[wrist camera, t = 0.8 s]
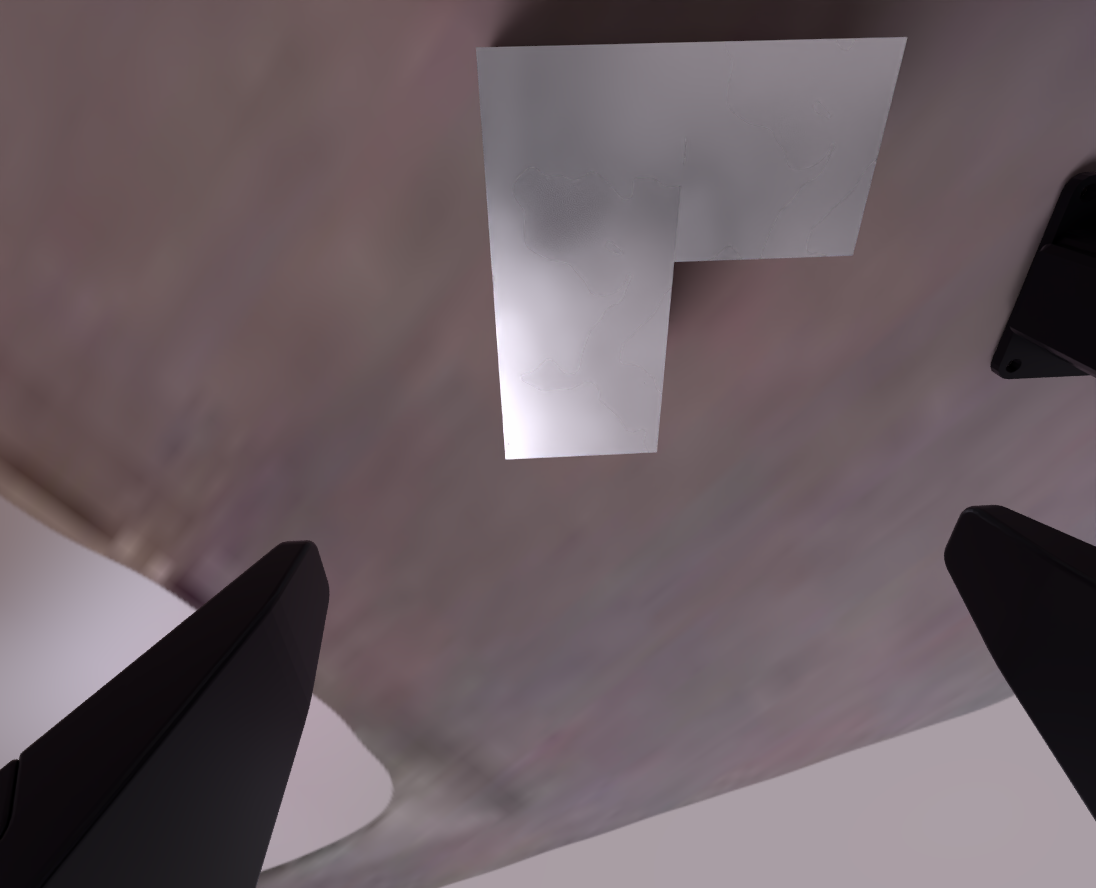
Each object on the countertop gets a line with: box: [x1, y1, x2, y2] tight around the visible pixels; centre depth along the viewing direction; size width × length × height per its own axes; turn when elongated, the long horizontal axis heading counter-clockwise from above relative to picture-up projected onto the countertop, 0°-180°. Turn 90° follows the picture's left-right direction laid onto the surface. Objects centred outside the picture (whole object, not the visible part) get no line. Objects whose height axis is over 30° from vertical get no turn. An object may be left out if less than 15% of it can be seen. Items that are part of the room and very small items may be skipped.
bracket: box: [476, 37, 907, 459], centre depth 15 cm, size 9×8×5 cm
